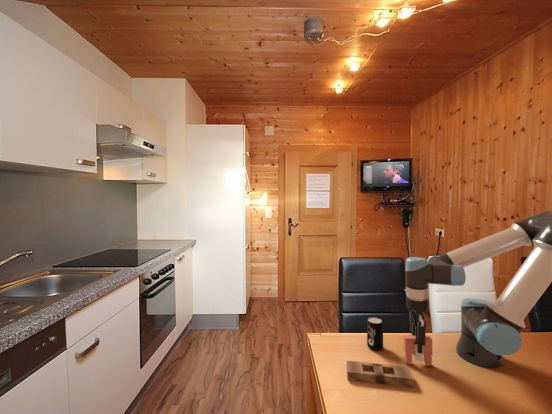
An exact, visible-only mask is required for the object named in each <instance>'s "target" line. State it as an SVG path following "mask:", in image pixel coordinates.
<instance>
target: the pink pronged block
mask: <svg viewBox="0 0 552 414" xmlns="http://www.w3.org/2000/svg"><path fill="white" fill-rule="evenodd" d="M414 342H416V337H415V336H413V335H412V334H410V335H409V334H403V351H404V361H405V364H406V365H407V364H408V365H413V354H415V344H414ZM432 356H433V338H432V337H431V336H427V335H425V346H423V363H424V365H426V366H430V367H432V365H433V363H432V362H433V361H432V359H433V358H432Z"/></svg>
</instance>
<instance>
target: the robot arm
mask: <svg viewBox="0 0 552 414" xmlns="http://www.w3.org/2000/svg"><path fill="white" fill-rule="evenodd" d="M522 246H526V247H531V246H533V248H532V250H531V252H530V253H529V254H528V256H526V259H525V260H524V262H523V263H522V264H521V266H520V267H519V268H518V270H517V271H516V273H515V274H514V275H513V277H512V278H511V280H510V281H509V282H508V284H507V285H506V287H505V288H504V289H503V291H502V292H501V293H500V295H499V296H498V298H497V299H496V300H495V302H494V301H490V300H486V299H480V298H471V297H470V298H463V299H462V300H461V303H460V304H461V305H460V308H461V309H460V319H461V321H460V322H461V325H460V328H461V329H460V332H461V333H460V336H459V338H458V340H457V342H456V345H455V347H456V349H455V350H456V351H455V352H456V353H457V355H458V356H459V357H460V358H462V359H463V360H465V361H466V362H469V363H471V364H473V365H478V366H480V367H485V368H499V367H501V366H503V363H504V360H503V356H512V355H514V354H516V353H518V352H519V351H520V349H521V348H522V346H523V340H522V335H521V334H522V333H523V332H524V330H525V328H526V325H525V321H524V320H525V318H526V317H527V315H528V314H529V313H530V312H531V310H532V309H533V308H534V307H535V305H536V304H537V302H538V301H539V299H540V298H541V297H542V295H543V294H544V293H545V292H546V290H547V289H548V288H549V286H550V285H551V283H552V210H547V211H542V212H538V213H536V214H533V215H530V216H528V217H526V218H524V219H521V220H518V221H516V222H514V223H512V224H511V225H510V227H509V228H506V229H504V230H503V229H502V230H501V231H499V232H496V233H494V234H492V235H491V234H490V235H488V236H486V237H484V238H481V239H478V240H476V241H473V242H471V243H469V244H465V245H463V246H461V247H458V248H456V249H454V250H453V249H452V250H451V251H449V252H446V253H442V254H441V255H432V256H430V257H428V258H427V259H426V258H425V257H418V256H417V257H416V256H411V257H407V258H406V260H405V288H404V292H405V295H406V298H405V301H406V303H405V306H406V308H407V309H408V312H409V328H410V335H413V336H415V337H416V342H414V344H415V354H412V357H413V356H414V360H415V361H418V362H424V355H423V346H425V336H426V331H427V330H426V327H427V322H426V321H424V320H425V314H424V312H425V311H427V310H428V309H429V300H428V299H429V288H428V287H429V286H428V285H440V286H443V285H444V286H453V287H455V286H459V287H460V286H464V285H465V283H466V278H467V277H466V272H465V271H466V270H465V268H466V267H469V266H471V265H475V264H477V263H480V262H482V261H484V260H487V259H491V258H494V257H496V256H499V255H501V254H504V253H507V252H510V251H512V250H515V249H517V248H520V247H522Z"/></svg>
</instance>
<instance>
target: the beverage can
mask: <svg viewBox="0 0 552 414" xmlns="http://www.w3.org/2000/svg"><path fill="white" fill-rule="evenodd" d="M366 345H367V347H368V348H369V349H370V350H371V351H377V352H378V351H379V352H380V351H381V350H382V349H383V348H384V323H383V320H382V319H381V318H378V317H375V316H373V317H368V318H367V322H366Z"/></svg>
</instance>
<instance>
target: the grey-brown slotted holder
mask: <svg viewBox="0 0 552 414" xmlns="http://www.w3.org/2000/svg"><path fill="white" fill-rule="evenodd" d="M346 377H347V381H350V382H360V383H368V384H369V383H370V384H375V385H377V384H379V385H387V386H396V387H404V388H415V379H414V376H413V374H412V372H411V370H410V368H409V366H404V365H394V364H393V365H392V364H386V363H385V364H382V363H373V362H364V361H355V360H354V361H353V360H346Z"/></svg>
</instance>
